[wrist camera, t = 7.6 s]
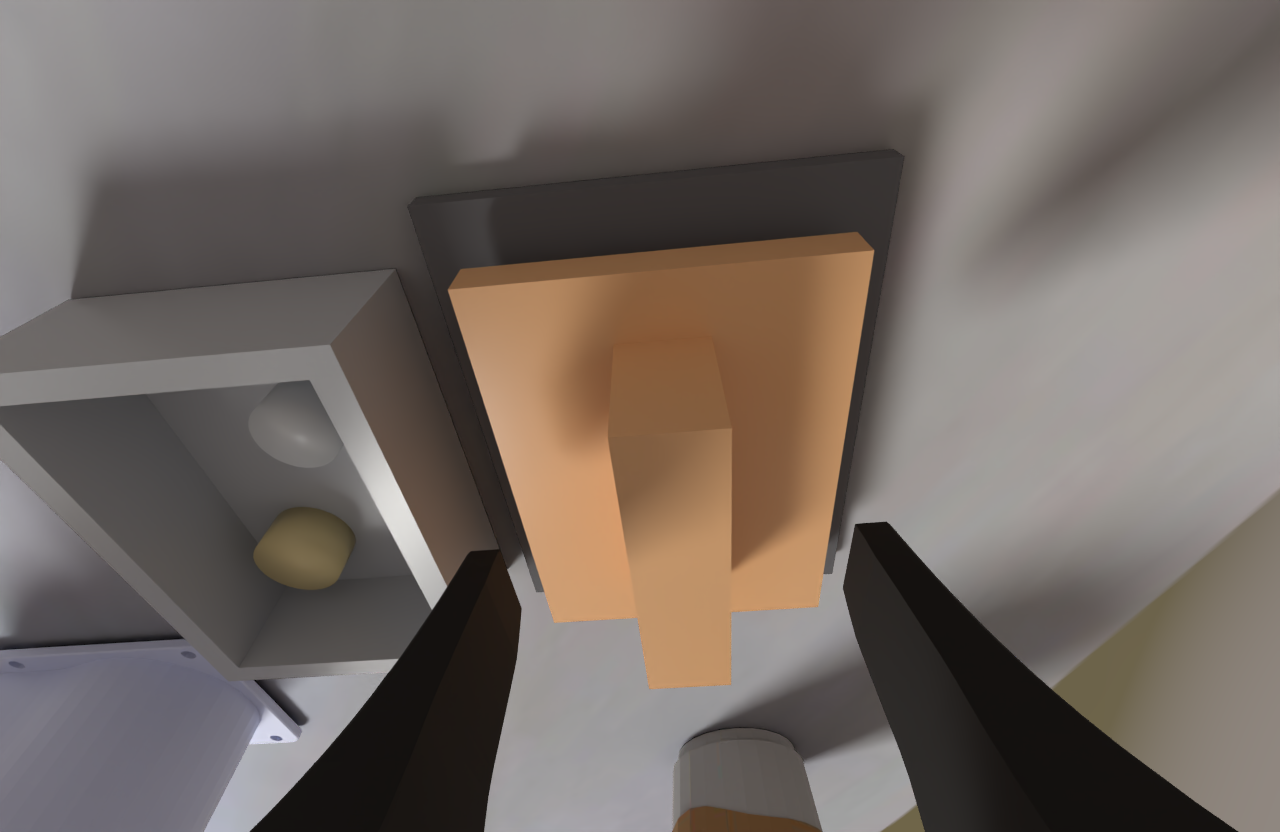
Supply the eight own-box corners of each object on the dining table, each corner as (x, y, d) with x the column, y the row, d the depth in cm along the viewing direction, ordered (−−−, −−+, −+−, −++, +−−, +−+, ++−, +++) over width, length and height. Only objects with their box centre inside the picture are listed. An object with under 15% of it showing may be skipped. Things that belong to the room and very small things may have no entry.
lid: (560, 574, 19) (540, 724, 15) (469, 254, 12) (393, 374, 8) (803, 558, 18) (847, 708, 15) (845, 218, 12) (946, 327, 8)
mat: (538, 577, 20) (536, 592, 19) (416, 198, 12) (407, 206, 12) (827, 559, 19) (832, 573, 19) (893, 149, 12) (904, 156, 11)
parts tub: (285, 584, 20) (228, 681, 17) (68, 299, 13) (-80, 380, 11) (507, 570, 20) (485, 667, 17) (395, 268, 13) (329, 344, 10)
